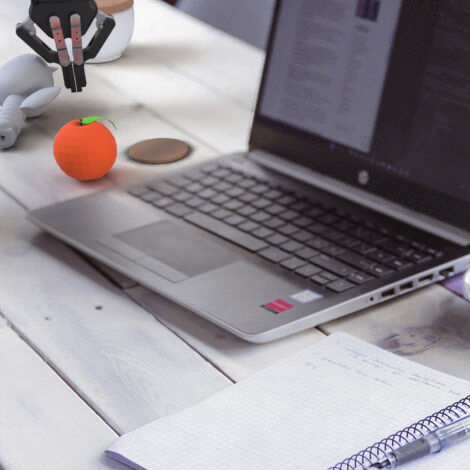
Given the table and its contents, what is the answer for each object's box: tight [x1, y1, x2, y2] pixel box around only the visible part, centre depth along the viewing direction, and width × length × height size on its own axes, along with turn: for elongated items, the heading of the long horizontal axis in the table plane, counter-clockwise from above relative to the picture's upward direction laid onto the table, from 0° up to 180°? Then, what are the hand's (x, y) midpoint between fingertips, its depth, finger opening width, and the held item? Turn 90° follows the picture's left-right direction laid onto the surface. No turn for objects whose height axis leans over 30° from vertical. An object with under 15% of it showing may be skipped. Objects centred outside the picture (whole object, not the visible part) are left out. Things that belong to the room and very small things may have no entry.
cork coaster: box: [128, 137, 189, 164], centre depth 115 cm, size 7×7×1 cm
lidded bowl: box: [65, 0, 135, 64], centre depth 146 cm, size 13×13×11 cm
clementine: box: [52, 116, 118, 182], centre depth 107 cm, size 8×7×7 cm
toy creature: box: [0, 53, 62, 149], centre depth 122 cm, size 13×7×20 cm
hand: (76, 90), depth 126 cm, fingers closed
